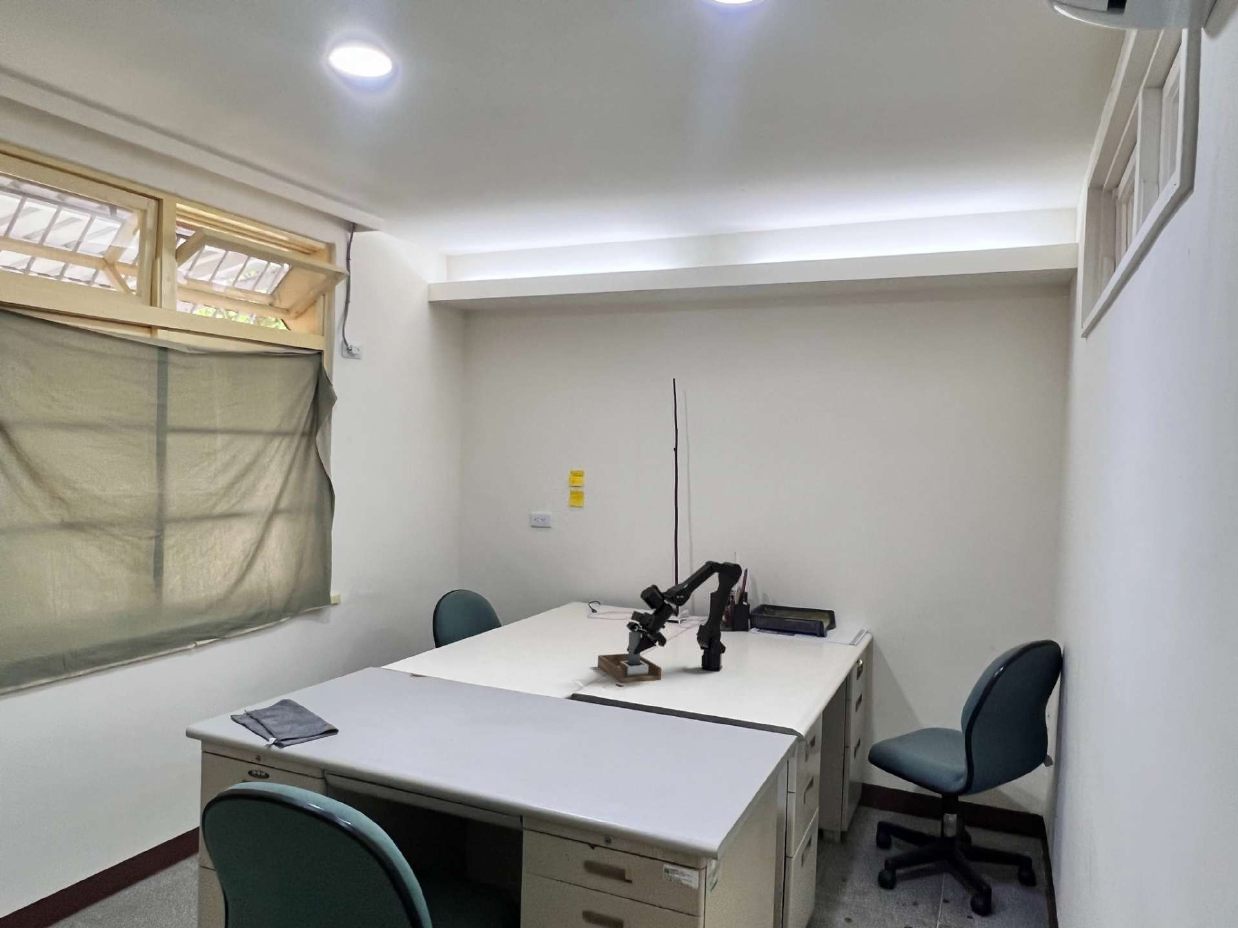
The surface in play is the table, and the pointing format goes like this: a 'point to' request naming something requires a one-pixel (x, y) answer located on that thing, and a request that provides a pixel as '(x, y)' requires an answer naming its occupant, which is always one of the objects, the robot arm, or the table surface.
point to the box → (613, 669)
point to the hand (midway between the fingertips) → (630, 652)
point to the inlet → (634, 669)
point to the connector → (633, 648)
